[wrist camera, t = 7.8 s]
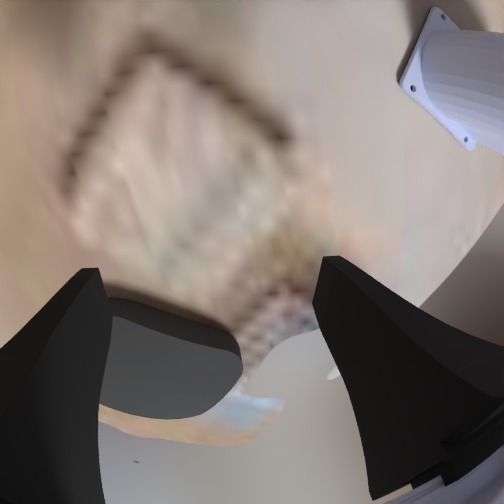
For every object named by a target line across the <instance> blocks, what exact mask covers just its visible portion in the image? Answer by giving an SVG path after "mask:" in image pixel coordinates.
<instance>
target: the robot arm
mask: <svg viewBox="0 0 504 504" xmlns="http://www.w3.org/2000/svg"><path fill="white" fill-rule="evenodd" d="M441 16H442V18H441ZM411 85H412V87H413V90H412V91H411ZM400 87H401V88H402V89H403V90H404V91H405V92H406V93H407V94H409V95H410V96H411V97H412V98H413V99H415V100H416V101H417V102H418V103H419V104H420V105H422V106H423V107H424V108H425V109H426V110H427V111H428V112H429V113H431V114H432V115H433V116H434V117H435V118H436V119H437V120H438V121H439V122H440V123H441V124H442V125H443V126H444V127H445V128H446V129H447V130H448V131H449V132H450V133H451V134H452V135H453V136H454V137H455V138H456V139H457V140H458V141H459V142H460V143H461V144H462V145H463V146H464V147H465V148H466V149H467V150H469V151H472V150H473V149H474V147H475V145H476V143H478V144H480V145H482V146H485V147H487V148H489V149H491V150H493V151H495V152H497V153H499V154H501V155H503V156H504V33H498V32H488V31H474V30H460V29H459V28H458V27H457V26H456V25H455V23H454V22H453V21H452V20H451V19H450V18H449V17H448V16H447V15H446V14H445V13H444V12H443V11H442V10H441V9H440V8H439V7H432V8H431V10H430V13H429V15H428V18H427V20H426V23H425V25H424V27H423V30H422V32H421V34H420V37H419V39H418V41H417V44H416V46H415V48H414V50H413V53H412V55H411V57H410V59H409V62H408V64H407V66H406V68H405V70H404V73H403V75H402V77H401V79H400ZM464 138H465V139H464ZM312 304H313V308H314V311H315V315H316V318H317V321H318V324H319V327H320V330H321V332H322V334H323V337H324V339H325V341H326V343H327V345H328V348H329V350H330V352H331V354H332V356H333V358H334V361H335V363H336V365H337V367H338V369H339V371H340V374H341V376H342V378H343V380H344V383H345V385H346V388H347V390H348V393H349V397H350V400H351V403H352V406H353V410H354V413H355V417H356V421H357V425H358V429H359V433H360V437H361V441H362V446H363V451H364V456H365V462H366V469H367V476H368V486H369V492H370V495H371V498H372V500H377V499H379V498H381V497H383V496H386V495H388V494H390V493H392V492H395V491H397V490H399V489H401V488H403V487H405V486H407V485H409V484H411V486H412V488H413V490H411V491H409V492H407V493H405V494H404V495H402V496H399V497H397V498H395V499H393V500H391V501H389V502H386V503H384V504H504V346H500V345H497V344H494V343H491V342H488V341H486V340H483V339H480V338H477V337H475V336H472V335H470V334H468V333H465V332H463V331H461V330H459V329H457V328H454V327H452V326H450V325H448V324H446V323H444V322H442V321H440V320H439V319H437V318H435V317H433V316H431V315H429V314H428V313H426V312H424V311H423V310H421V309H419V308H417V307H416V306H414V305H413V304H411V303H410V302H408V301H406V300H405V299H403V298H402V297H400V296H399V295H397V294H396V293H394V292H393V291H391V290H390V289H388V288H387V287H386V286H384V285H383V284H381V283H380V282H378V281H377V280H375V279H374V278H373V277H371V276H370V275H368V274H367V273H366V272H364V271H363V270H361V269H360V268H358V267H357V266H355V265H354V264H352V263H351V262H349V261H348V260H346V259H344V258H343V257H341V256H325V257H323V259H322V264H321V268H320V272H319V277H318V281H317V285H316V290H315V294H314V298H313V302H312ZM112 320H113V314H112V311H111V308H110V305H109V302H108V298H107V295H106V292H105V289H104V285H103V282H102V278H101V275H100V271H99V268H82V269H80V270H79V271H78V272H77V273H76V274H75V275H74V276H73V277H72V278H71V279H70V280H69V281H68V282H67V283H66V284H65V285H64V286H63V287H62V288H61V289H60V290H59V291H58V292H57V293H56V294H55V295H54V296H53V297H52V298H51V299H50V300H49V301H48V302H47V303H46V304H45V305H44V307H43V308H42V309H41V310H40V311H39V312H38V313H37V314H36V315H35V316H34V317H33V318H32V319H31V320H30V321H29V322H28V323H27V324H26V325H25V326H24V327H23V328H22V329H21V330H20V331H19V332H18V333H17V334H16V335H15V336H14V337H13V338H12V339H10V340H9V341H8V342H7V343H6V344H5V345H4V346H3V347H2V348H0V504H105V499H104V494H103V489H102V482H101V474H100V465H99V450H98V410H99V400H100V394H101V388H102V382H103V377H104V372H105V367H106V362H107V357H108V352H109V347H110V341H111V331H112Z"/></svg>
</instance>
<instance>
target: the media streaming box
mask: <svg viewBox="0 0 504 504" xmlns="http://www.w3.org/2000/svg"><path fill="white" fill-rule="evenodd" d="M108 302H109V305H110V308H111V311H112V314H113V320H112V331H111V341H110V347H109V352H108V357H107V362H106V367H105V372H104V377H103V382H102V388H101V394H100V400H99V403H100V404H102V405H104V406H107V407H109V408H112V409H115V410H118V411H121V412H124V413H128V414H132V415H136V416H141V417H147V418H155V419H182V418H189V417H193V416H197V415H200V414H202V413H204V412H206V411H208V410H209V409H211V408H212V407H213V406H215V405H216V404H217V403H218V402H219V401H220V400H221V399H222V398H223V397H224V396H225V395H226V394H227V393H228V392H229V391H230V390H231V389H232V387H233V386H234V385H235V384H236V382H237V381H238V379H239V378H240V377H241V375H242V371H243V364H242V358H241V353H240V348H239V345H238V343H237V341H236V340H235V339H234V338H233V337H232V336H230V335H229V334H227V333H225V332H222V331H219V330H217V329H214V328H211V327H208V326H205V325H202V324H199V323H196V322H194V321H191V320H188V319H185V318H182V317H179V316H176V315H173V314H170V313H167V312H164V311H161V310H157V309H154V308H151V307H148V306H145V305H142V304H139V303H136V302H133V301H130V300H126V299H118V298H111V299H108Z"/></svg>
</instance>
